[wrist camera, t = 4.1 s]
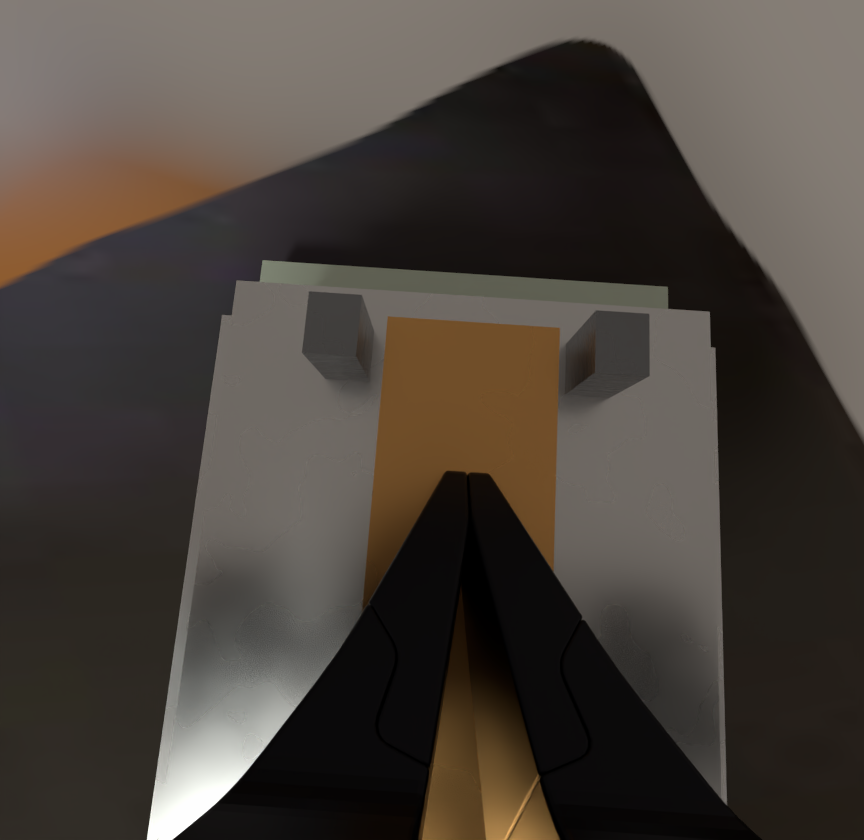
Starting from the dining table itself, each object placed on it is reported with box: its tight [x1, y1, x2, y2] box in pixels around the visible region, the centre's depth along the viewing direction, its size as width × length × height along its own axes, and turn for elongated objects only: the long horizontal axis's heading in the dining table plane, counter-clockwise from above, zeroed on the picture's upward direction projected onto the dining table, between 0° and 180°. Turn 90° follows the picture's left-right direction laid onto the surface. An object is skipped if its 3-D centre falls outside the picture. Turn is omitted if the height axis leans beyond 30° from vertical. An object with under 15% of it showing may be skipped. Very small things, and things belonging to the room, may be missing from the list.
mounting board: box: [260, 260, 668, 309], centre depth 16 cm, size 20×14×2 cm
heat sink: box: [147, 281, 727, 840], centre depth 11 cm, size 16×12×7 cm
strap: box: [362, 316, 560, 840], centre depth 9 cm, size 15×4×1 cm, turn 176°
